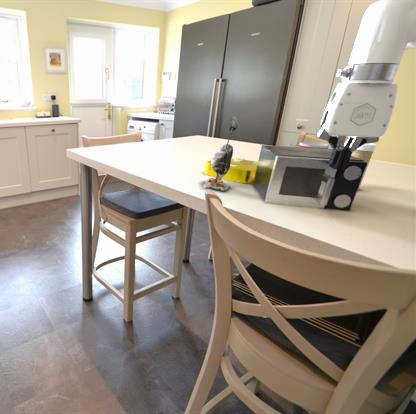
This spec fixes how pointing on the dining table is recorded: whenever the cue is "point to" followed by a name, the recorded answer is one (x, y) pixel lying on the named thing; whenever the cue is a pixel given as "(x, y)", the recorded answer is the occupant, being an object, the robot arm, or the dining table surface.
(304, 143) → the canned food
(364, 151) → the sprinkles bottle
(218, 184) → the plant with pod
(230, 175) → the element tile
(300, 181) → the microwave door
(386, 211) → the dining table surface
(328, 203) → the microwave
